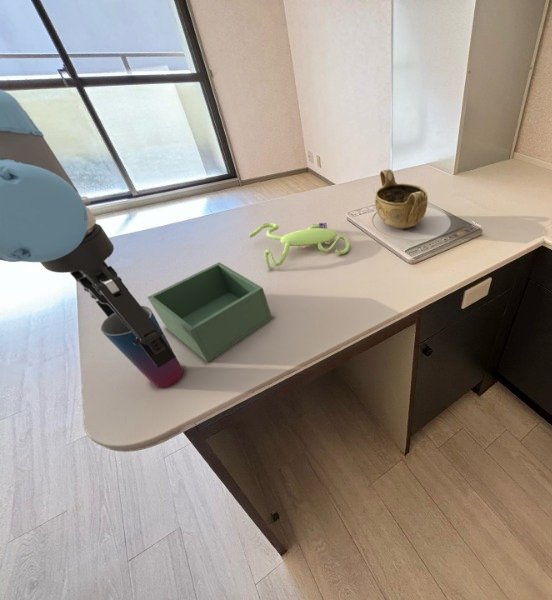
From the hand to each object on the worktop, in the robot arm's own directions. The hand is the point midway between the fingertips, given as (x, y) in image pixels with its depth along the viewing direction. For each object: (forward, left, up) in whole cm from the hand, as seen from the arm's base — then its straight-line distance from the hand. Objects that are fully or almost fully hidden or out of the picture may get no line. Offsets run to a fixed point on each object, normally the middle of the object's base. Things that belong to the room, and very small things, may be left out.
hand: (145, 342), depth 55 cm
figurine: (+46, +15, -10) cm, 49 cm away
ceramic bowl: (+77, 0, -10) cm, 77 cm away
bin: (+14, +5, -9) cm, 17 cm away
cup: (0, 0, -10) cm, 10 cm away
